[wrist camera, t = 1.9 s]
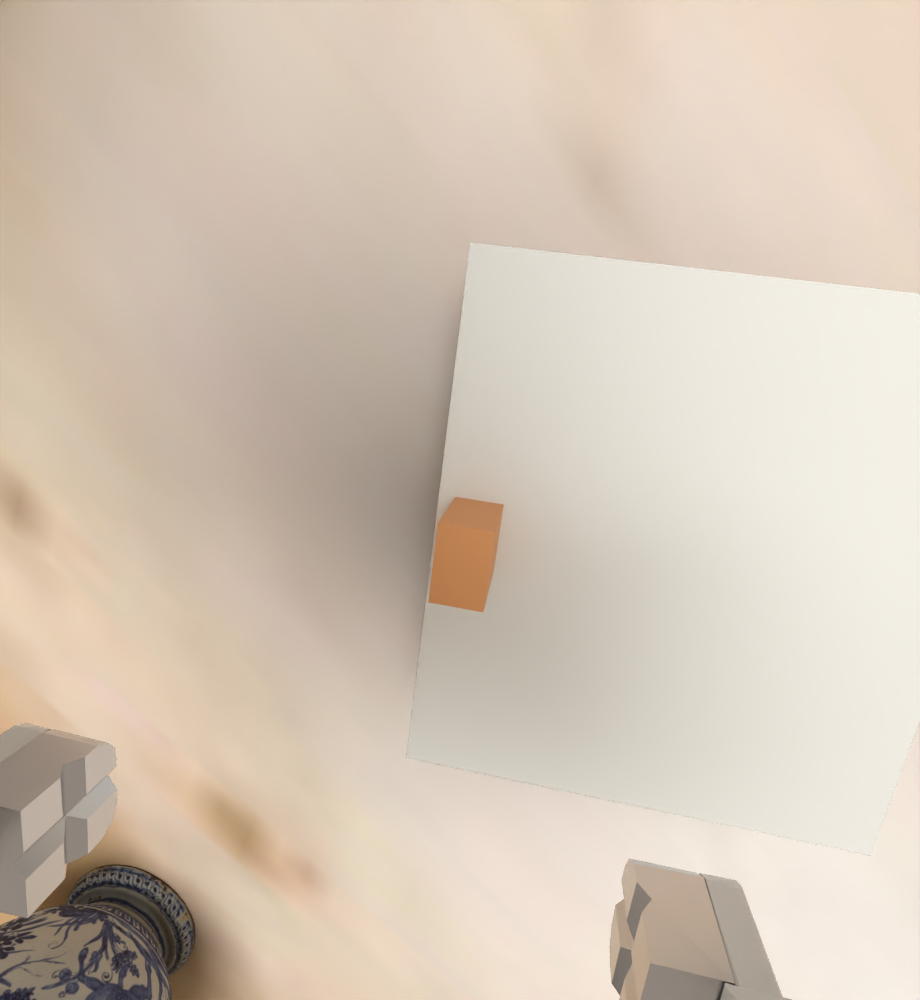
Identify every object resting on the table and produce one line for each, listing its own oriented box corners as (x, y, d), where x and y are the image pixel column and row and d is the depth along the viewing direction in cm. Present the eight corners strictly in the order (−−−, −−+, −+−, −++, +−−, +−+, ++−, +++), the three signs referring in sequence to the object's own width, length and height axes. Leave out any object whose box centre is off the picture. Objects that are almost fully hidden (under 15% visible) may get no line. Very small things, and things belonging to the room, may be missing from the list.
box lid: (411, 744, 29) (383, 822, 24) (473, 247, 23) (453, 217, 18) (859, 837, 26) (927, 944, 22) (1046, 312, 21) (1195, 299, 16)
